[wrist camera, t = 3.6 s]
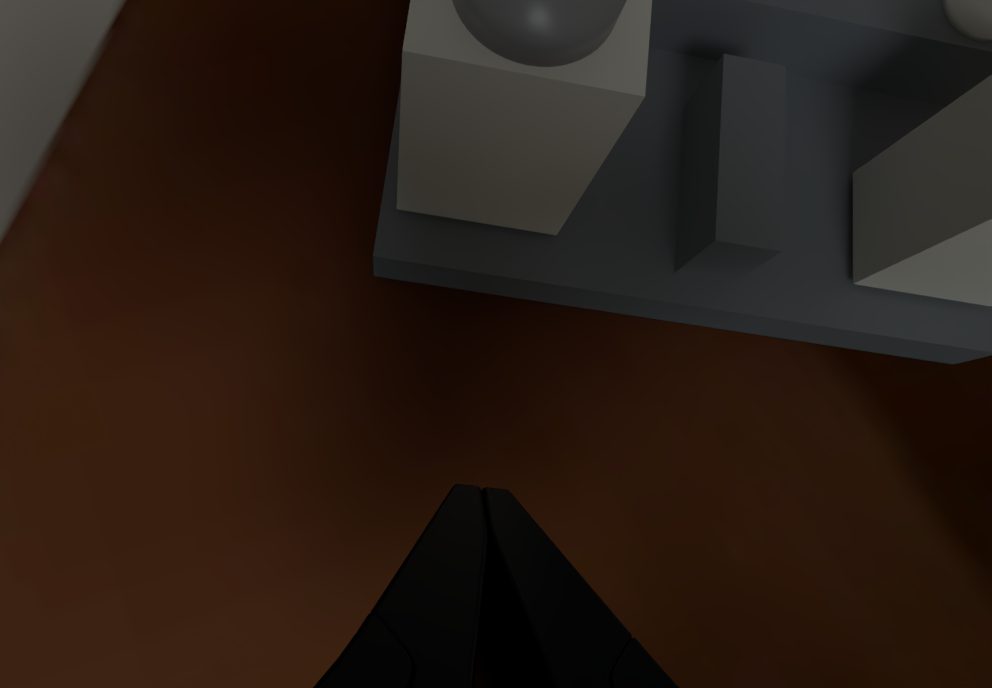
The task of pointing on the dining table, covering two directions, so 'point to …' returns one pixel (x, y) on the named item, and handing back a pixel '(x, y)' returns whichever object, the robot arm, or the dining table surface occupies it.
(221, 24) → the dining table surface
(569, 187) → the button
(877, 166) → the button
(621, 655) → the robot arm
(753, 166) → the switch panel
